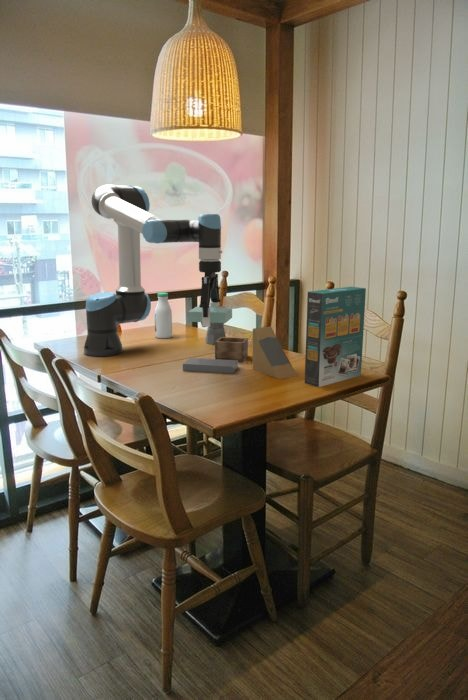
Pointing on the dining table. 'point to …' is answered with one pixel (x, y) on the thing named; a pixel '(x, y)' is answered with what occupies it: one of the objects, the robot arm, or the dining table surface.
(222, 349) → the crate
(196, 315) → the lid
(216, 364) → the board
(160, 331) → the milk bottle
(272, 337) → the sandwich container
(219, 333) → the coffeepot
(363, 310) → the cake mix box
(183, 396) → the dining table surface
